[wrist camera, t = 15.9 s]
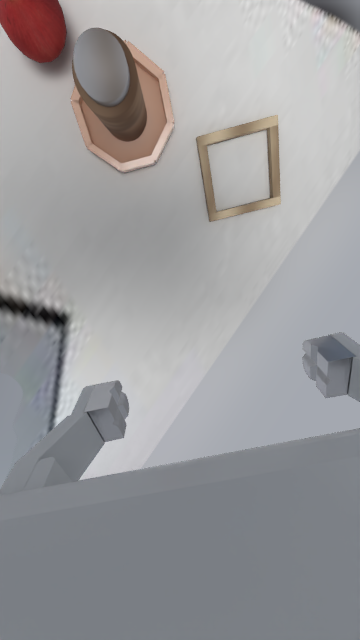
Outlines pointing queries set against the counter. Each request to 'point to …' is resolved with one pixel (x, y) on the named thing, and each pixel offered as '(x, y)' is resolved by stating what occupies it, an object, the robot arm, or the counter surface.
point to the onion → (34, 27)
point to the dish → (157, 125)
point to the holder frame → (273, 158)
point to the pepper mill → (109, 83)
